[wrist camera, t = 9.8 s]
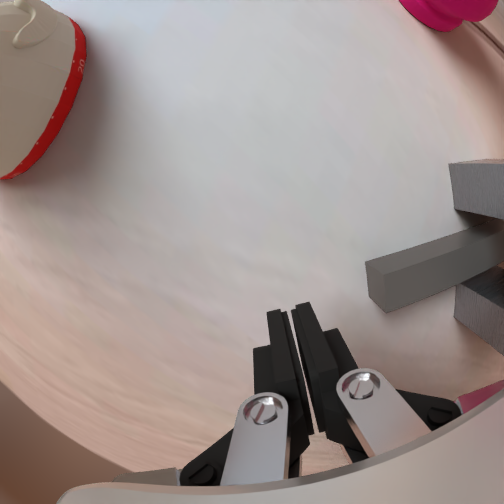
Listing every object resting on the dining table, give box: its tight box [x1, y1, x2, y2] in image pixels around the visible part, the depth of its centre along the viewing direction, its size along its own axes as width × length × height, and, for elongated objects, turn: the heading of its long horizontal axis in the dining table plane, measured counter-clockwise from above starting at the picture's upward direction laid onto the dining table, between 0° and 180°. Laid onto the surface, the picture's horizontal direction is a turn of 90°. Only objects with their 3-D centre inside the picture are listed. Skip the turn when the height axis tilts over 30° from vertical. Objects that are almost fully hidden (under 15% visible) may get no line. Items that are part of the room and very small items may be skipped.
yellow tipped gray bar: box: [365, 218, 504, 313], centre depth 14 cm, size 4×20×5 cm, turn 104°
